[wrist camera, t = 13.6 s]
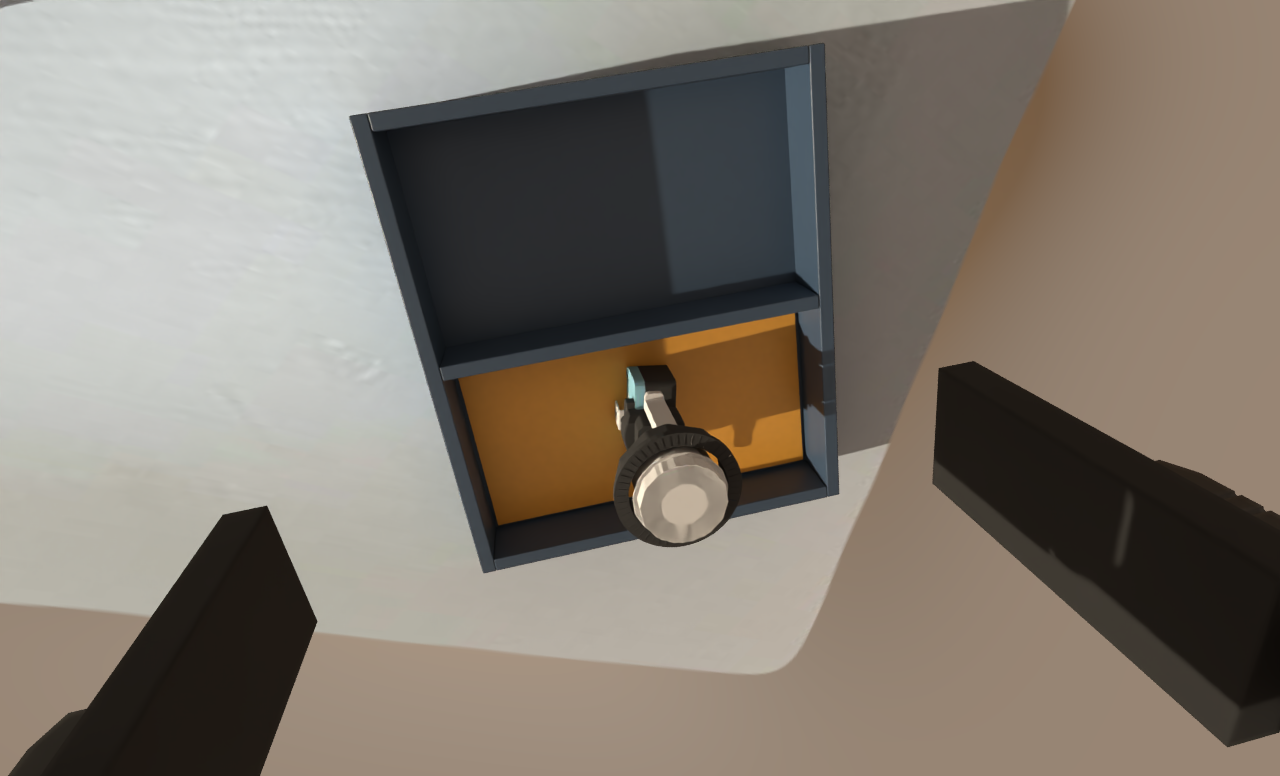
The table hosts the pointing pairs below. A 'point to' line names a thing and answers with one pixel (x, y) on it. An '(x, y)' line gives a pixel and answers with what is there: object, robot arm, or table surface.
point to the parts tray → (616, 282)
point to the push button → (669, 466)
